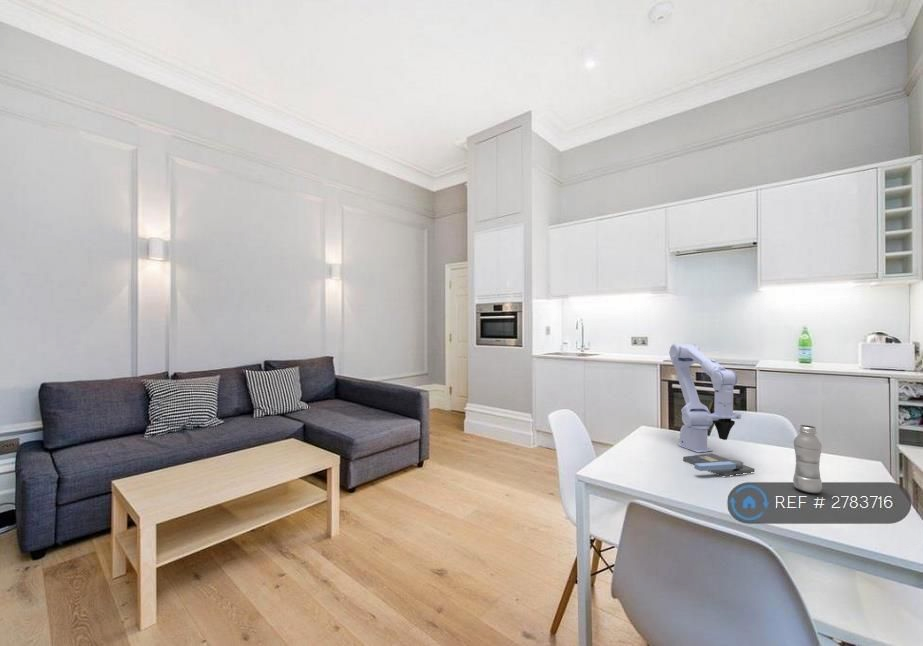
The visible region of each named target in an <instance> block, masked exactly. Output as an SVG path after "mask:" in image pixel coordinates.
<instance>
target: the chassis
mask: <svg viewBox="0 0 923 646" xmlns="http://www.w3.org/2000/svg"><path fill="white" fill-rule="evenodd" d="M730 460H731V459H729V458H726V457H722V456H719V455H718V454H715V453H705V454H695V455H694V454H693V455H687V456H683V458H682V461H683V462H685V463H688V464H690V465H692V464H693V466H695V464H696V463H712V462H728V461H730ZM710 471H711V472H710ZM708 472H710V473H712V472H713V473H712V474H714V473H716V474H715V475H717V474H719V475H721V476H720V477H722V476H730V475H736V474H743V473H751V472H755V467H751V466H748V465H746V464H743V469H724V470H709V471H708ZM719 475H718V476H719Z"/></svg>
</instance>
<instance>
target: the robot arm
mask: <svg viewBox="0 0 923 646" xmlns="http://www.w3.org/2000/svg"><path fill="white" fill-rule="evenodd" d="M669 357H670V359H671V364H672V365H673V366H674V370H675V373H676V376H677V379H678V383H679V387H680V389H681V392H682V396H683V399H684V403H685V405H684V406H683V407H682V408H681V411H680V412H681V421H682V423H683V425H682V426H681V428H680V430H679V431H680V432H679V444H678V446H679V447H681V448H682V447H683V448H685V449H687V450H690V451H693V452H695V453H705V452H706V453H707V452H713V449H711V448H708V430H710V427H711V426H712V425H713V424H714V427H715V428H716V431H717V434H718V439H720V440H723V441H727V440H728V439H729V438H728V437H729V435H730V431H731V430H732V428H733V426H734V425H736V424H735V423H736V422H735V420H736V419H737V420H742V419H741V418H742V413H738V412H734V387H735V386H736V385H737V384H738V380H739V379H738V375H737V374H738V373H736V372H735V371H734V370H733V369H726V368H725V366H723V365H722V364H720V363H718V361H717V360H716V359H714V358H713V359H712V358H708V357H707V356H706V355H705V354H703V353H702V351H701V350H700V347H699V346H697V344H696V343H691V344H690V343H689V344H688V343H687V344H686V343H683V344H681V343H673V344H672V345H671V346H670V348H669ZM694 363H697V364H698V365H700V368H701V370H702V371H703V373H705V374H706V375H707V376H709V377H710V380H711V383H712V388H713V390H714V405H713V407H714V409H713V411H714V412H712V413H711V411H710V410H709V408H708V406H706V405H705V404H704V403H702V402H701V400H700V398H699V394H698V392H697V388H696V386H695V382H694V379H693V376H692V373H691V369H690V366H693V365H694Z"/></svg>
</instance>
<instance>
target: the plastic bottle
mask: <svg viewBox="0 0 923 646" xmlns="http://www.w3.org/2000/svg"><path fill="white" fill-rule="evenodd" d="M798 431H799V433H798V435H796V436H795V438H794V439H793V449H794V455H795V467H794V474H793V479H792V481H793V485H794V487H795V488H796V489H797V490H799V491H802V492H805V493H809V494H810V493H811V494H819V493H821V491H822V488H823V483H822V478H821V472H820V461H821V460H820V459H821V456H822V455H821V453H822V448H823V446H822V442H821V441H820V440H819V438H818V437H817V435H816V434H817V427H816V426H813V425H806V424H800V425H799V430H798Z"/></svg>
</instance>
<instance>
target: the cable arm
mask: <svg viewBox="0 0 923 646" xmlns="http://www.w3.org/2000/svg"><path fill="white" fill-rule="evenodd" d="M729 460H730V461H728V462H712V463H696V464H695V465H694V469H695V470H697V471H700V472H703V471H706V472H710V471H709V470H724V469H743V465H744V462H743V461H741V460H737V459H729Z"/></svg>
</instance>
